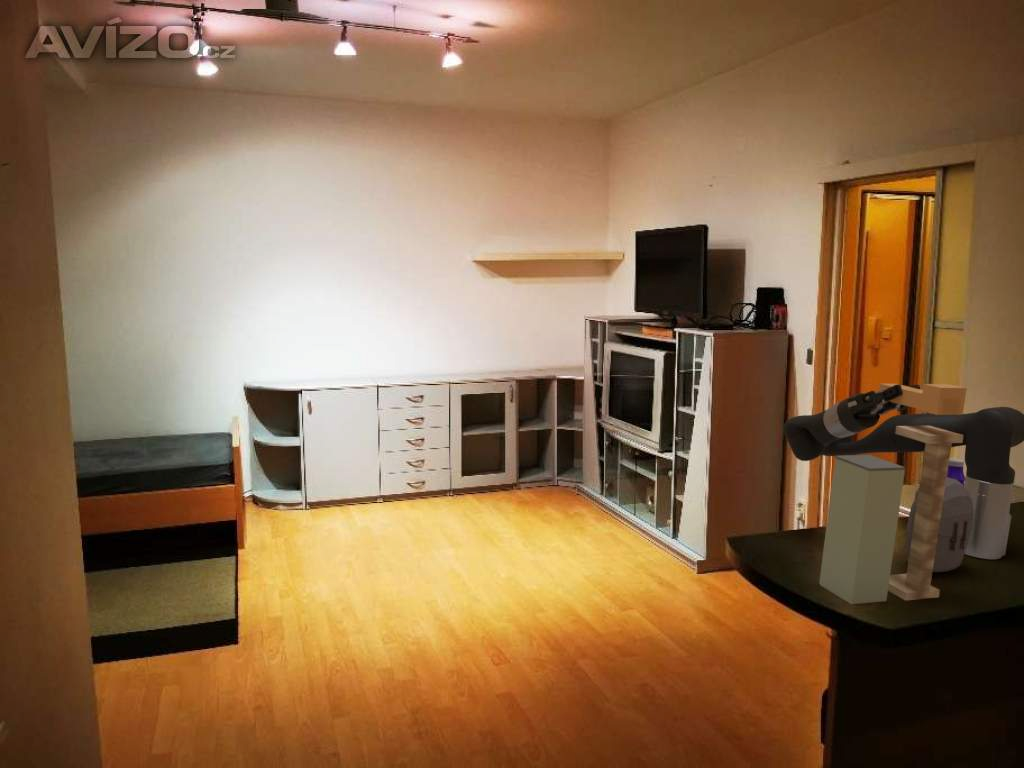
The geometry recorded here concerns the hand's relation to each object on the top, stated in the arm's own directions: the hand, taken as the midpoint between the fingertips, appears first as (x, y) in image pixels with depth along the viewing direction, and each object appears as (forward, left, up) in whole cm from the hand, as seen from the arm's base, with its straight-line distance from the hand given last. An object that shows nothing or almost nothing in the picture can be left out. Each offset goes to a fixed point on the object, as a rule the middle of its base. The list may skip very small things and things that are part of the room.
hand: (909, 389), depth 154 cm
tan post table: (0, +6, -39) cm, 39 cm away
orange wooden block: (0, +2, -3) cm, 4 cm away
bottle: (-40, -23, -39) cm, 61 cm away
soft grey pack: (-15, -1, -39) cm, 42 cm away
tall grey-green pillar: (+12, +5, -39) cm, 41 cm away
